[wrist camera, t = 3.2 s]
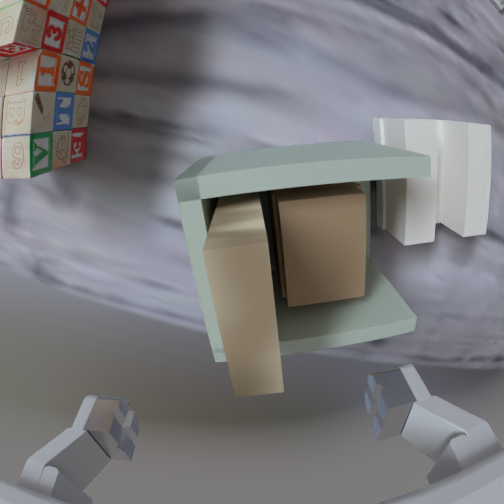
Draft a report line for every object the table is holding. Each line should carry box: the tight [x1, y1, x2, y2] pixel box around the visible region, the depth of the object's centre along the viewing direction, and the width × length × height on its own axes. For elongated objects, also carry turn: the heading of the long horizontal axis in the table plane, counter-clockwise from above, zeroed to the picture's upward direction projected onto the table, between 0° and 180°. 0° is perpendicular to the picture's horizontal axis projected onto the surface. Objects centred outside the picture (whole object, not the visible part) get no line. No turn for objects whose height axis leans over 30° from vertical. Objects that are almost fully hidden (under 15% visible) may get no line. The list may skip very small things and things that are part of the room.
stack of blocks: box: [0, 0, 109, 179], centre depth 15 cm, size 21×6×12 cm, turn 172°
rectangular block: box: [202, 192, 284, 397], centre depth 20 cm, size 2×8×15 cm, turn 8°
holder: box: [373, 118, 491, 246], centre depth 24 cm, size 10×10×6 cm
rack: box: [174, 141, 431, 362], centre depth 23 cm, size 14×12×11 cm
